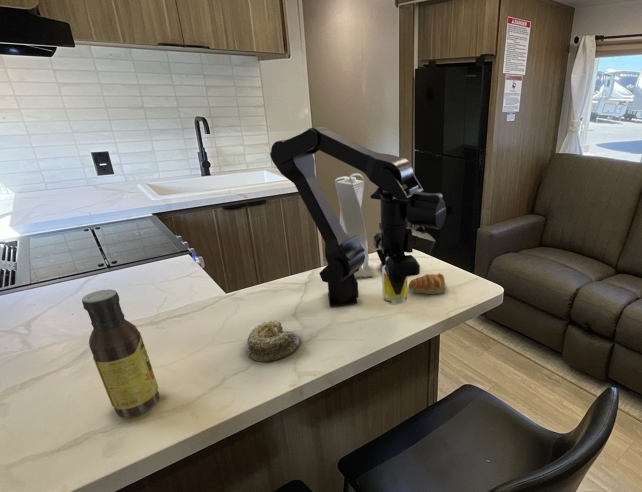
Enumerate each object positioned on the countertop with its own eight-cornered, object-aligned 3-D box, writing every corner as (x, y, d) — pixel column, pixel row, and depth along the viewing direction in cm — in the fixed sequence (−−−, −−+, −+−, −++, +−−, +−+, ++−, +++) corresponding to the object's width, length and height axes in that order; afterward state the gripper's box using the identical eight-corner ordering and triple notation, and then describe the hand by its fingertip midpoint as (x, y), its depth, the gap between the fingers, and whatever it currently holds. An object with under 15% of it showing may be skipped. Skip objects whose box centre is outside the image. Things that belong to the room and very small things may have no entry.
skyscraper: (373, 279, 107) (370, 174, 95) (342, 282, 105) (335, 175, 93) (368, 266, 114) (364, 167, 103) (339, 269, 112) (332, 168, 101)
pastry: (411, 297, 98) (411, 283, 97) (406, 284, 104) (406, 271, 103) (448, 293, 100) (448, 279, 99) (440, 281, 106) (441, 268, 105)
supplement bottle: (410, 304, 89) (411, 261, 85) (386, 307, 87) (385, 265, 83) (403, 292, 94) (403, 252, 89) (379, 296, 92) (378, 255, 88)
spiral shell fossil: (263, 372, 73) (256, 348, 70) (238, 349, 79) (230, 327, 76) (309, 345, 79) (304, 322, 77) (283, 326, 85) (277, 305, 83)
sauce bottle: (169, 399, 65) (137, 292, 57) (128, 425, 60) (86, 311, 52) (146, 386, 68) (112, 281, 60) (105, 409, 63) (62, 299, 55)
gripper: (446, 233, 77) (442, 304, 83) (420, 206, 93) (418, 267, 99) (389, 237, 74) (389, 311, 80) (372, 209, 90) (374, 272, 96)
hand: (394, 288), depth 89 cm, fingers closed on supplement bottle, 5 cm apart
